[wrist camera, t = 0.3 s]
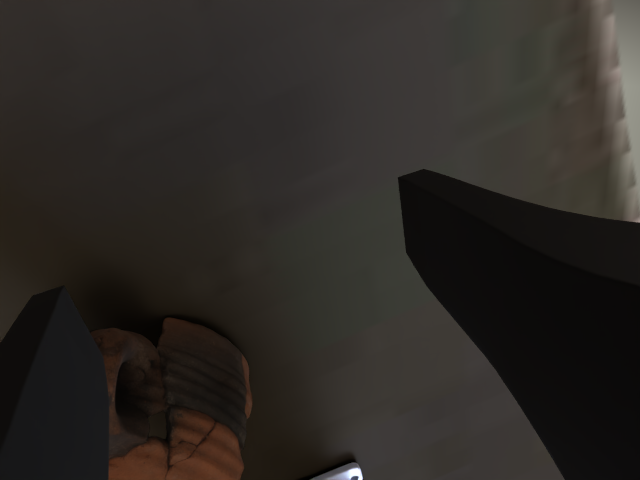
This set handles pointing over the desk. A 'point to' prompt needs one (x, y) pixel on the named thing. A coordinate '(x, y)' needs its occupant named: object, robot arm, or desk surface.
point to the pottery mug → (175, 403)
